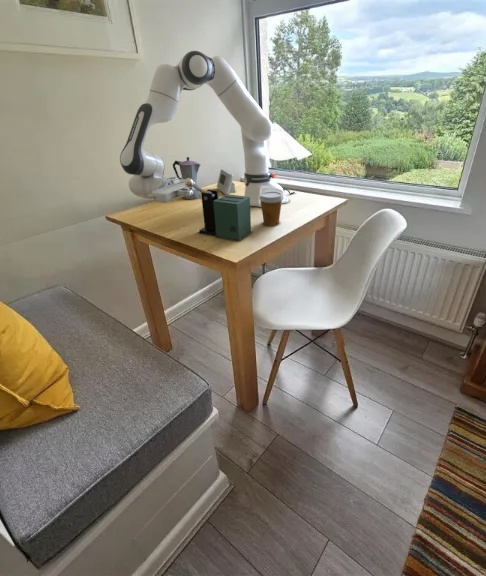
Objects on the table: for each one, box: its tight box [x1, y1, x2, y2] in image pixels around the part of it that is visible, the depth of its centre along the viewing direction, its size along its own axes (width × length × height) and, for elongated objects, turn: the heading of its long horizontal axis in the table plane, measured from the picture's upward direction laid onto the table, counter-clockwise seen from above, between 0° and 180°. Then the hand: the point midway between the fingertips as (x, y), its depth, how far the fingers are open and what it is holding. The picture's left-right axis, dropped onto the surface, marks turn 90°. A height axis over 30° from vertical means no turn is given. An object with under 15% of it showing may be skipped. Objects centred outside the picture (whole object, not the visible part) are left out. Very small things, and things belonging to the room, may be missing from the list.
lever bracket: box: [199, 188, 220, 237], centre depth 125 cm, size 8×8×16 cm
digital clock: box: [216, 168, 236, 195], centre depth 176 cm, size 16×9×11 cm, turn 11°
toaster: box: [213, 193, 252, 242], centre depth 121 cm, size 10×10×14 cm
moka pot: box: [172, 156, 202, 200], centre depth 165 cm, size 10×15×20 cm, turn 78°
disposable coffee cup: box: [259, 192, 283, 227], centre depth 132 cm, size 10×10×12 cm
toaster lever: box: [184, 178, 215, 200], centre depth 122 cm, size 13×3×3 cm, turn 63°
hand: (191, 193), depth 125 cm, fingers closed
